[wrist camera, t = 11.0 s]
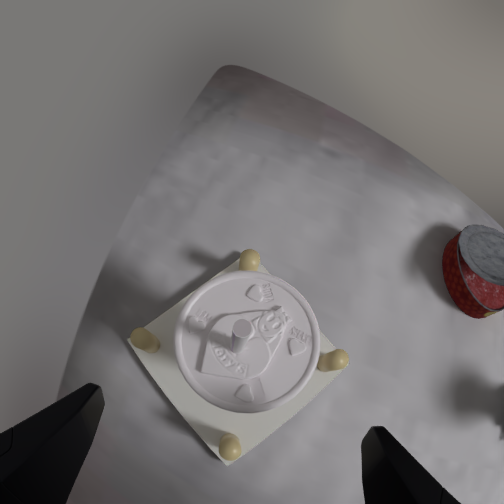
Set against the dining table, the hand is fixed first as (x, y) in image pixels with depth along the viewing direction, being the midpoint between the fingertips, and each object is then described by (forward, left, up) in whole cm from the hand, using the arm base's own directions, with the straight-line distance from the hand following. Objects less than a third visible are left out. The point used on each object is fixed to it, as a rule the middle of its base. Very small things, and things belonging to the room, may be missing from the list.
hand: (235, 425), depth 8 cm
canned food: (+27, -9, -14) cm, 31 cm away
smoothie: (+3, +2, -13) cm, 13 cm away
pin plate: (+3, +2, -13) cm, 14 cm away
